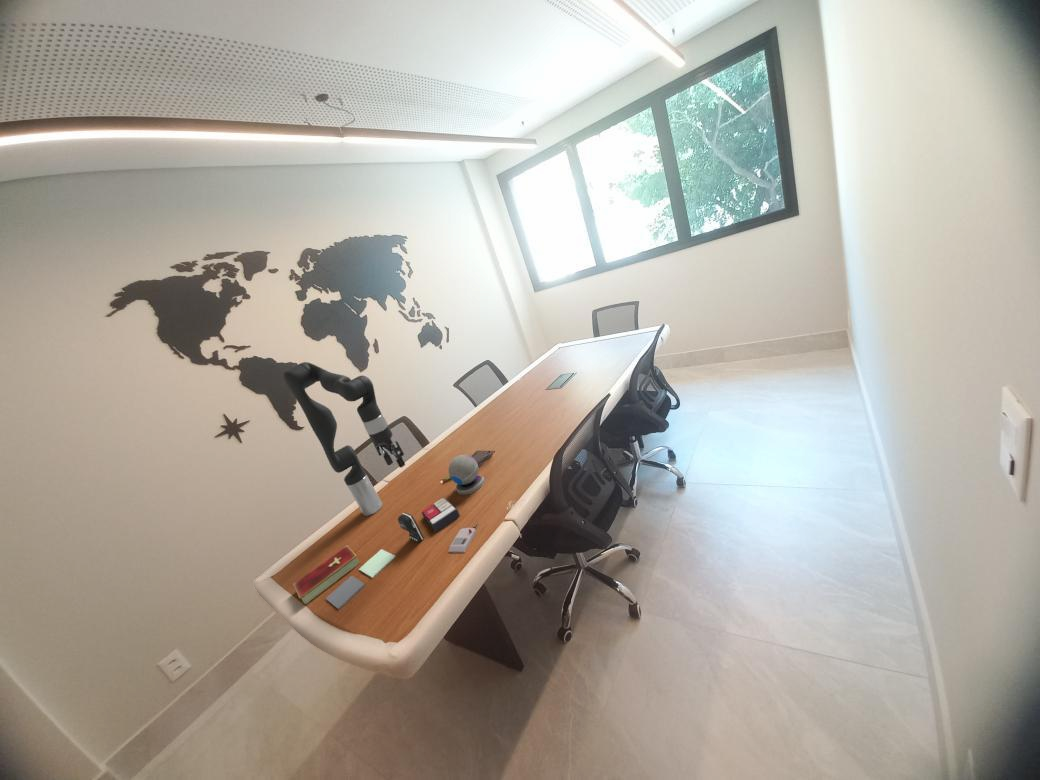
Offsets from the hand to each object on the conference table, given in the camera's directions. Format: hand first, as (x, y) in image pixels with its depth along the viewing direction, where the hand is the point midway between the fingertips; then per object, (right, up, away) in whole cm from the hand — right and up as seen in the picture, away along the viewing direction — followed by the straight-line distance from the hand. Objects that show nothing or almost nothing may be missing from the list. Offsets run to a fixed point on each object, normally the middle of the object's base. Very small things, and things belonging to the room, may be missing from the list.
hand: (396, 465), depth 143 cm
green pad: (-5, -35, -5) cm, 36 cm away
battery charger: (+7, -29, +1) cm, 30 cm away
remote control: (+27, -25, -8) cm, 38 cm away
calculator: (+15, -23, +10) cm, 29 cm away
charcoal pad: (-13, -41, -14) cm, 45 cm away
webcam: (+25, -14, +24) cm, 38 cm away
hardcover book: (-24, -42, -2) cm, 48 cm away
